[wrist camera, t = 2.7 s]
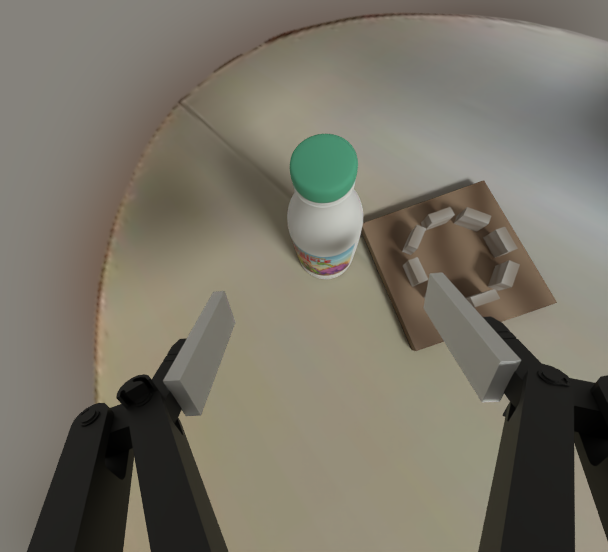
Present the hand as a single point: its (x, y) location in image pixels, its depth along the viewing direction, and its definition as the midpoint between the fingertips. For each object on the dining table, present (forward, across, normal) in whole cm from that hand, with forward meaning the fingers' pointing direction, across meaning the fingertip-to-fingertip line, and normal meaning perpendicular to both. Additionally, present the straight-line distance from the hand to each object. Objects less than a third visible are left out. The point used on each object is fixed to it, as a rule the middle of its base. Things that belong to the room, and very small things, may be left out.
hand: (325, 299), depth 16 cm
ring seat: (+17, +17, -8) cm, 25 cm away
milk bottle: (+19, +1, -6) cm, 20 cm away
